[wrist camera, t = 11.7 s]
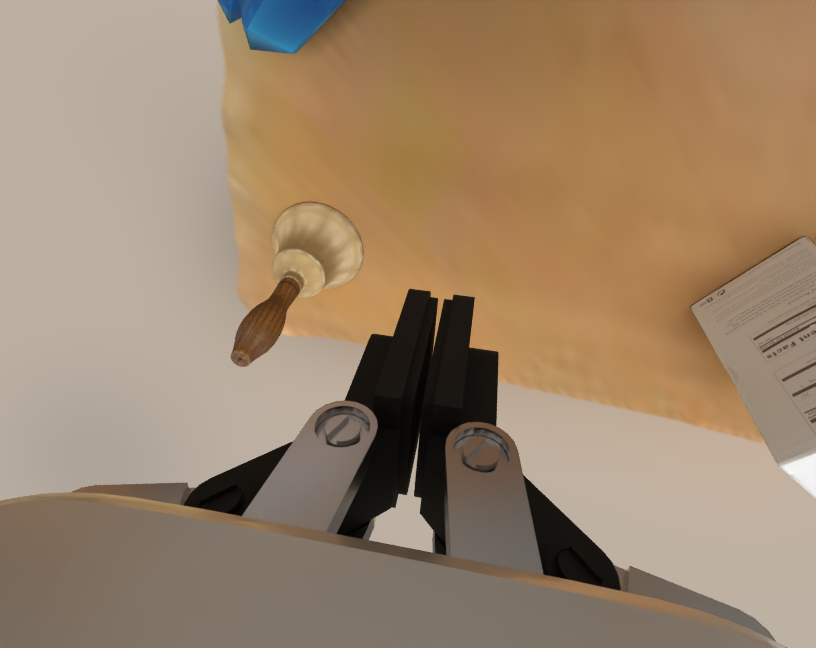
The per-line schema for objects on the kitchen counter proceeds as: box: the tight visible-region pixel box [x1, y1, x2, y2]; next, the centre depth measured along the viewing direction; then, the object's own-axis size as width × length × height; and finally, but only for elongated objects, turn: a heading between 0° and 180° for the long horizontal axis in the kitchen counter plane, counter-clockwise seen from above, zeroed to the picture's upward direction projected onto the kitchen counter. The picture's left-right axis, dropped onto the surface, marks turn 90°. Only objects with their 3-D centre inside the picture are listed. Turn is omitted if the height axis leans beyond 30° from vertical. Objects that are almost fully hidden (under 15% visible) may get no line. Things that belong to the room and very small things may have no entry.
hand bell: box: [231, 202, 363, 367], centre depth 36 cm, size 8×8×16 cm
